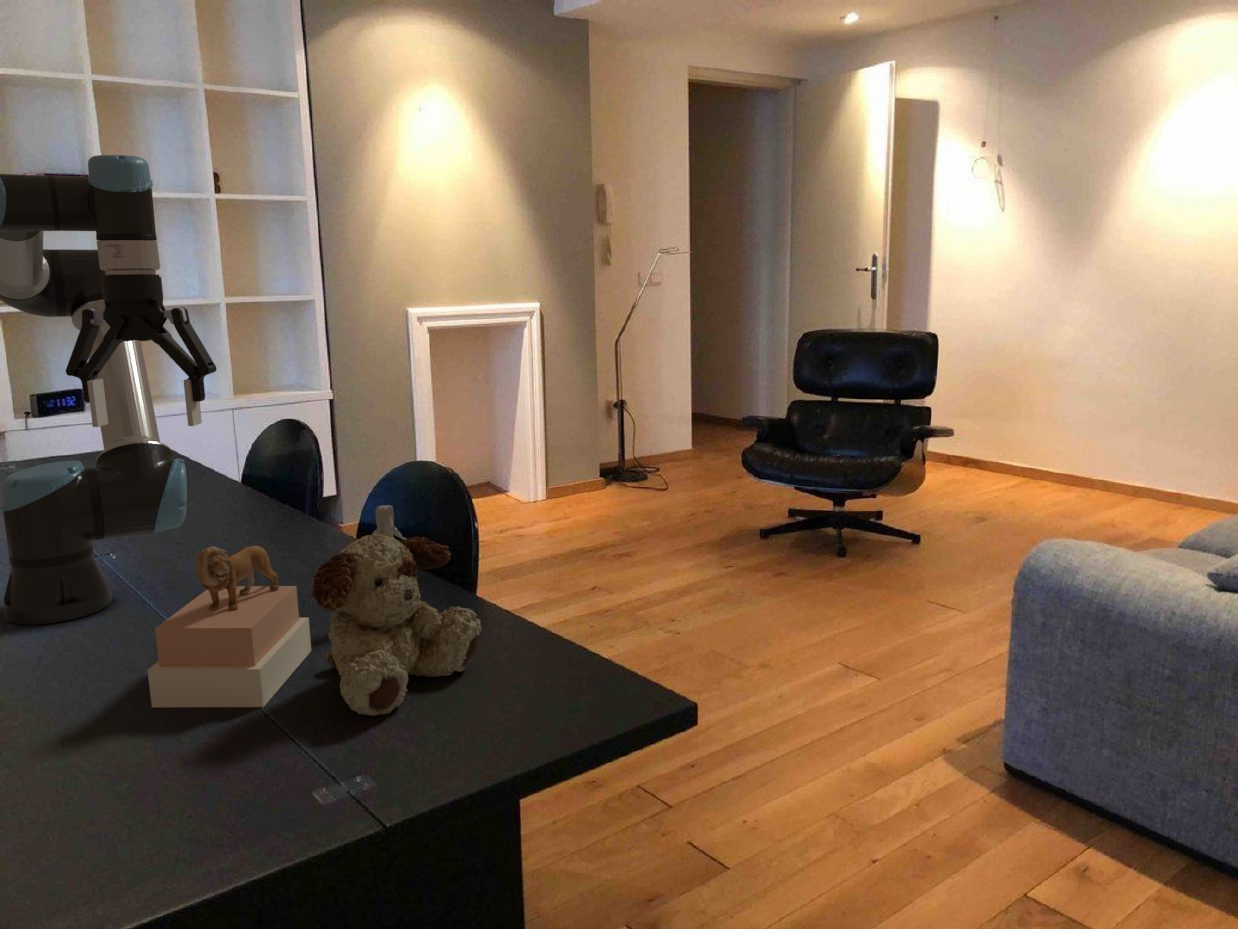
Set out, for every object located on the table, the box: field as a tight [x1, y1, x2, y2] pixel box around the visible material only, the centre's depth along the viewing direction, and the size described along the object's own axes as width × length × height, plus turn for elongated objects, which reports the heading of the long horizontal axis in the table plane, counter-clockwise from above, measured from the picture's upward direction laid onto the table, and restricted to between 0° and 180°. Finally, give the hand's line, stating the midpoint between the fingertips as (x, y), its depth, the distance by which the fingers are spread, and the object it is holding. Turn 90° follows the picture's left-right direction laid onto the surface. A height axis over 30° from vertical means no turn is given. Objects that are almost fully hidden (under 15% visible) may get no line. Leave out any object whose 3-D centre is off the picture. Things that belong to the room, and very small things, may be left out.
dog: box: [311, 534, 483, 716], centre depth 127 cm, size 23×19×20 cm
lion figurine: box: [194, 545, 280, 611], centre depth 129 cm, size 15×5×9 cm, turn 169°
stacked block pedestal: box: [147, 585, 312, 708], centre depth 129 cm, size 14×18×10 cm
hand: (147, 425), depth 139 cm, fingers open, 13 cm apart
